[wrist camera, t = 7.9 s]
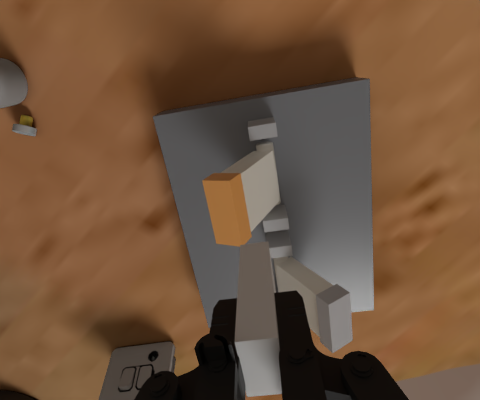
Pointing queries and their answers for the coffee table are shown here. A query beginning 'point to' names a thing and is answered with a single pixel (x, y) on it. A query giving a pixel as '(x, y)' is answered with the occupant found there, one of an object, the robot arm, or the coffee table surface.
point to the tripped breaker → (242, 195)
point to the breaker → (318, 301)
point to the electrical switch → (135, 369)
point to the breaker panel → (281, 182)
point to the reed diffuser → (14, 94)
